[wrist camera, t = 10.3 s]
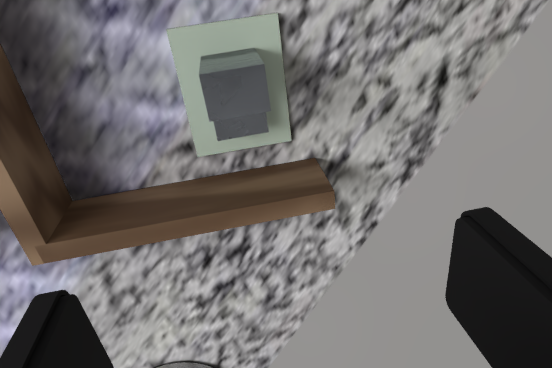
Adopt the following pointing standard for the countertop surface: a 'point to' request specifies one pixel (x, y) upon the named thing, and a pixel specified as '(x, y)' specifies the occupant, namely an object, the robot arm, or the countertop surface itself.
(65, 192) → the wall
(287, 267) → the countertop surface
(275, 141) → the pad
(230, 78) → the metal block
